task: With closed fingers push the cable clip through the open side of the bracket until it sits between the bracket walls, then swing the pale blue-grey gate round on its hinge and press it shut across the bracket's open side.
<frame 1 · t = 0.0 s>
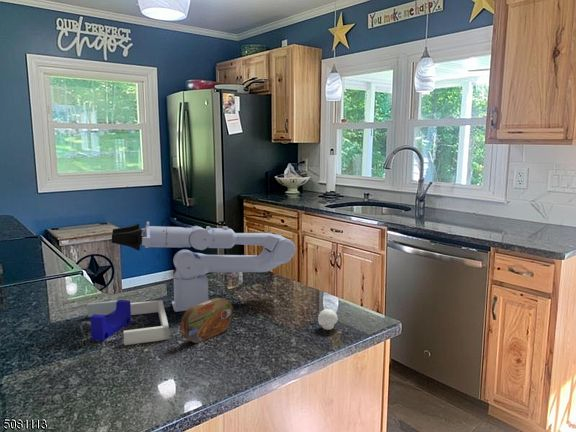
hand: (112, 235, 115), 22 cm above the counter, tool horizontal, fingers open, 7 cm apart
gate: (105, 308, 117), point 2 cm above the counter, hinge at -90.0°
mushroom: (327, 329, 110), on the counter
tin: (208, 336, 105), on the counter
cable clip: (109, 331, 108), on the counter
bracket: (145, 325, 111), on the counter
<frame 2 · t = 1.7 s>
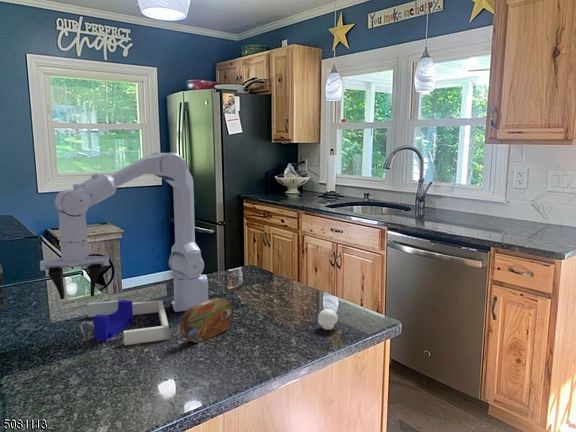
hand: (77, 296, 104), 9 cm above the counter, tool pointing down, fingers open, 6 cm apart
nothing on the counter moved.
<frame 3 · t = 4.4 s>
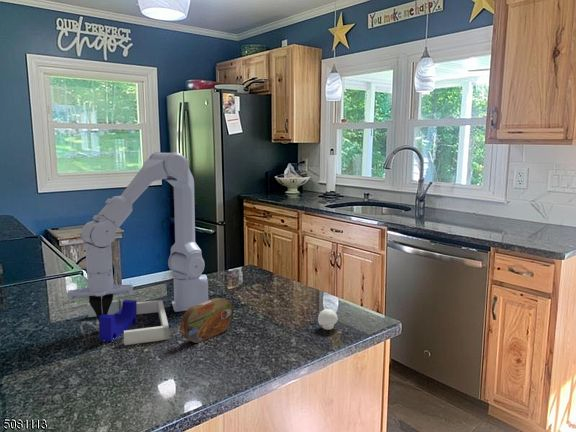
hand: (102, 324, 107), 2 cm above the counter, tool pointing down, fingers closed
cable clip: (116, 331, 108), on the counter, touching gripper
everything else where it was.
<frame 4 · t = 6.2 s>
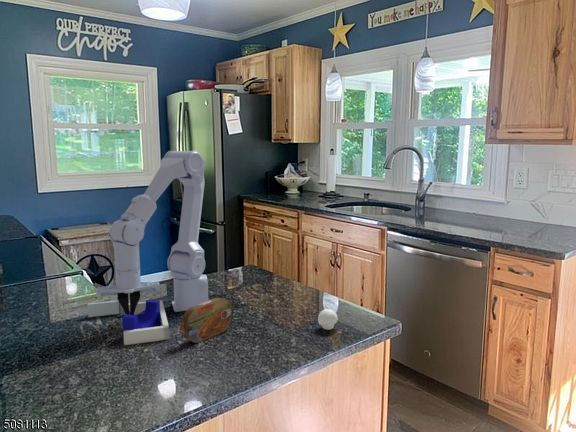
hand: (130, 321, 109), 2 cm above the counter, tool pointing down, fingers closed
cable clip: (140, 331, 108), on the counter, touching bracket, gripper
everything else where it was.
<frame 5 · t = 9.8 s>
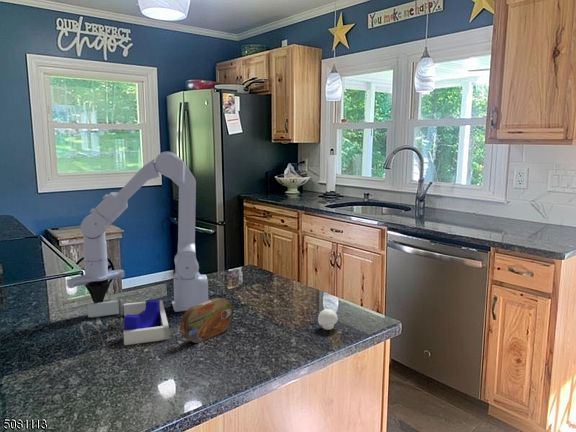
hand: (98, 307, 118), 2 cm above the counter, tool pointing down, fingers closed, pressing on gate
gate: (105, 308, 117), point 2 cm above the counter, hinge at -87.2°, touching gripper
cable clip: (141, 332, 108), on the counter
everything else where it was.
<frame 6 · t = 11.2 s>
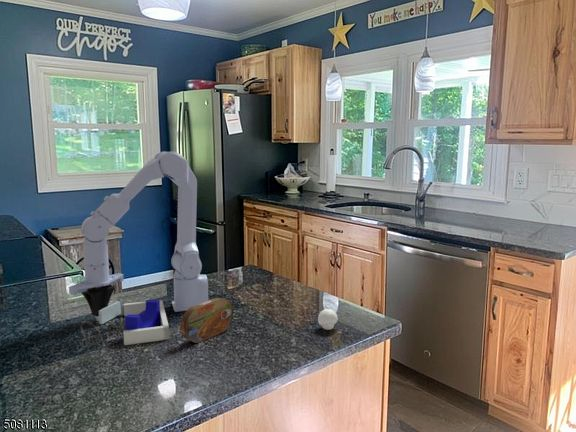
hand: (99, 314, 114), 2 cm above the counter, tool pointing down, fingers closed
gate: (111, 311, 115), point 2 cm above the counter, hinge at -36.1°, touching gripper
everything else where it was.
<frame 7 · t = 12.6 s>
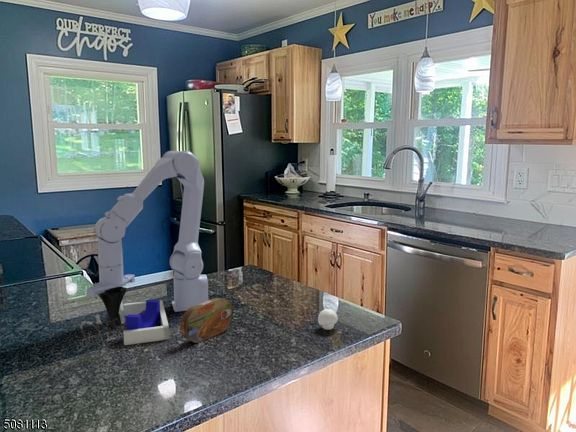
hand: (113, 316, 112), 2 cm above the counter, tool pointing down, fingers closed
gate: (121, 311, 115), point 2 cm above the counter, hinge at 4.2°, touching gripper
everything else where it was.
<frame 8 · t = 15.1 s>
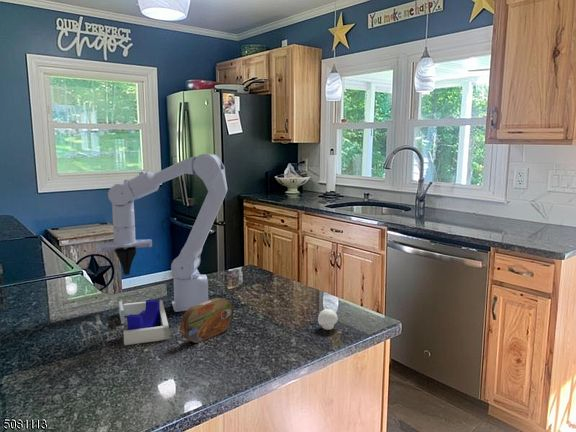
hand: (126, 273, 124), 9 cm above the counter, tool pointing down, fingers closed
gate: (121, 311, 115), point 2 cm above the counter, hinge at 4.2°
everything else where it was.
at the end: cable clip inside the target area on the bracket (2.6 cm from its centre), point 0.0 cm above the bracket's base; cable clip moved 8.1 cm from its start; gate at +4° (first picture: -90°) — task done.
